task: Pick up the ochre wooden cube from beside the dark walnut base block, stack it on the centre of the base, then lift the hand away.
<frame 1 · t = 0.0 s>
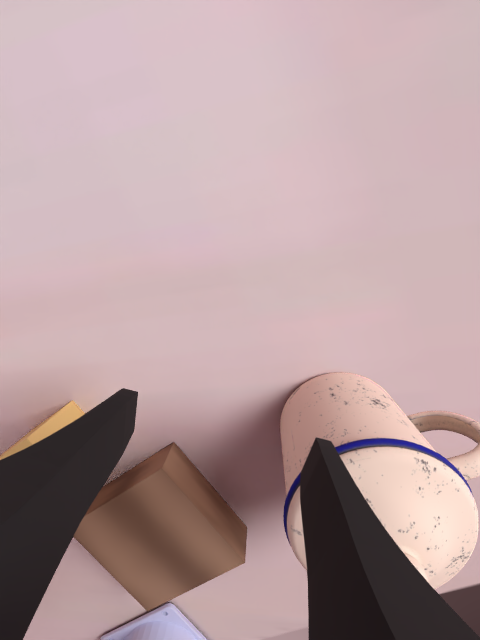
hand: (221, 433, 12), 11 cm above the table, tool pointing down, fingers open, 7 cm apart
ochre block: (72, 437, 25), on the table
walnut base: (166, 512, 26), on the table
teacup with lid: (354, 415, 23), on the table
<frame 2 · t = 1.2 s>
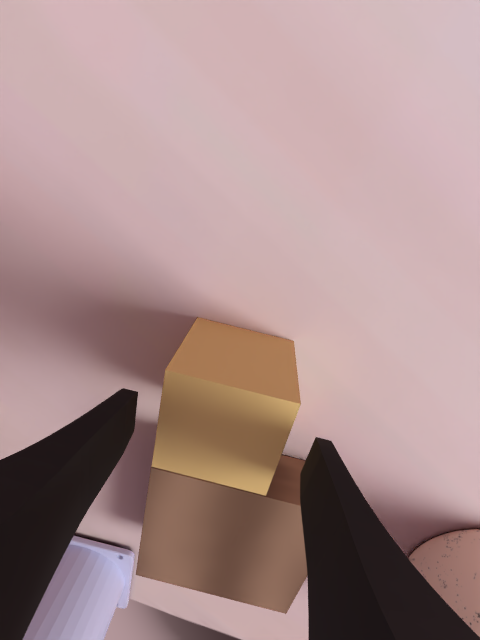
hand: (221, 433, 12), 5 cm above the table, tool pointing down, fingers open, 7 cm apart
ochre block: (235, 369, 17), on the table
walnut base: (232, 500, 20), on the table
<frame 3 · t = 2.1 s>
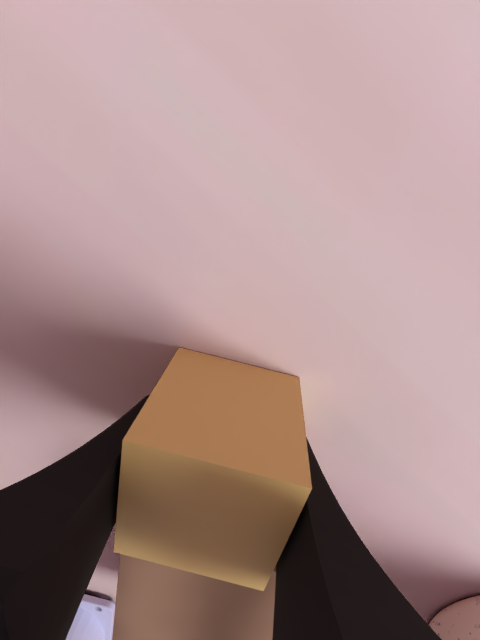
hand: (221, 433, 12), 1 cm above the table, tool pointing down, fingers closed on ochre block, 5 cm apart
ochre block: (226, 409, 13), on the table, touching gripper
walnut base: (226, 552, 17), on the table
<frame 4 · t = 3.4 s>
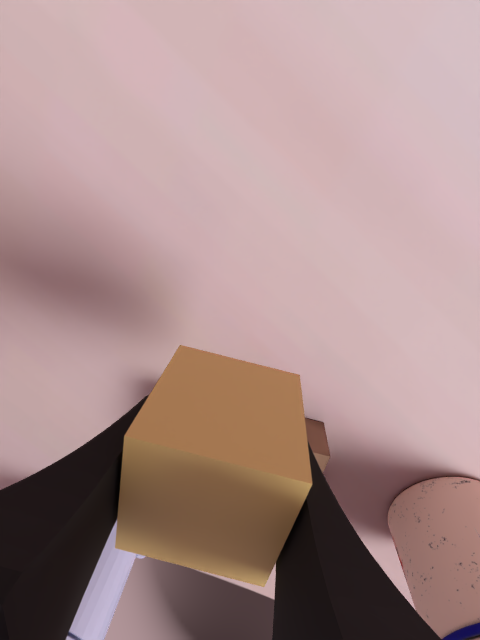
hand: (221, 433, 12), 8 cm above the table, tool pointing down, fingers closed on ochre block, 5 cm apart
ochre block: (227, 407, 13), point 7 cm above the table, touching gripper
walnut base: (239, 454, 24), on the table
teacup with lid: (458, 517, 24), on the table
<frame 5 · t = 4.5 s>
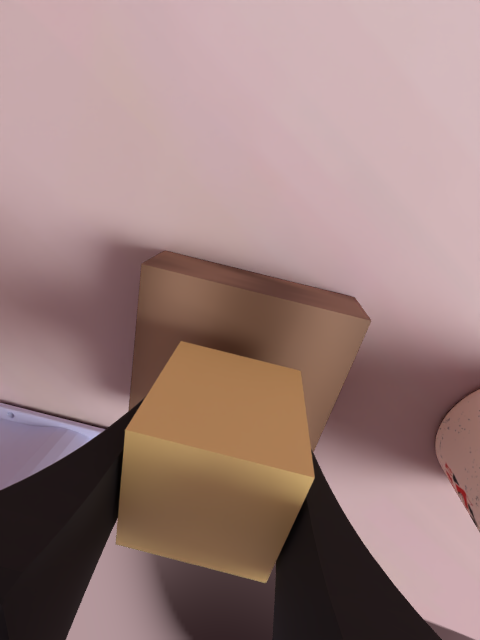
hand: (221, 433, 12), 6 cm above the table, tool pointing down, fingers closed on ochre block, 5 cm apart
ochre block: (228, 403, 13), point 5 cm above the table, touching gripper
walnut base: (238, 355, 18), on the table
when the fingers open (5 cm above the table, at t = 5.1 s): ochre block stays where it is, resting on walnut base.
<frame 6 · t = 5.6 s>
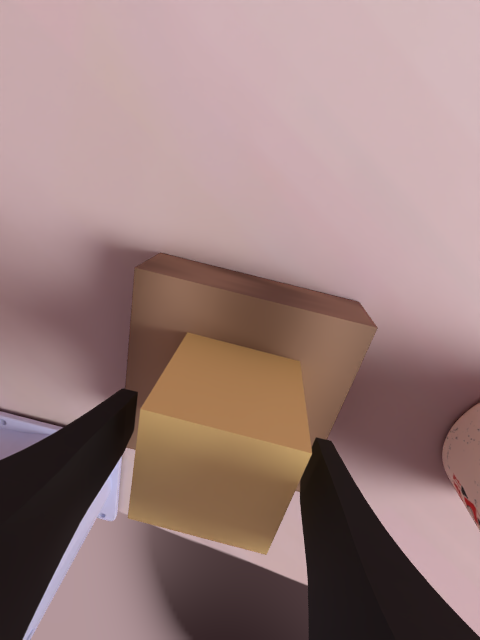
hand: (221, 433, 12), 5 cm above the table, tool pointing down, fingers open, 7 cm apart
ochre block: (231, 392, 14), point 3 cm above the table, touching walnut base
walnut base: (237, 362, 17), on the table
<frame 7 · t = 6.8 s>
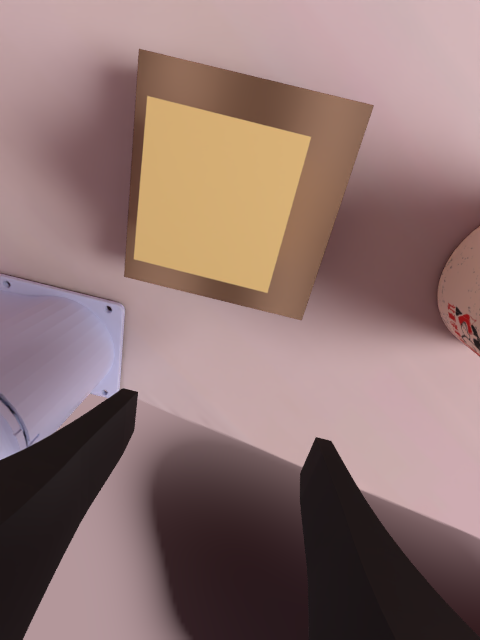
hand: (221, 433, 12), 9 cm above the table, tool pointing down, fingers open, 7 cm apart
ochre block: (232, 198, 15), point 3 cm above the table, touching walnut base
walnut base: (238, 200, 17), on the table
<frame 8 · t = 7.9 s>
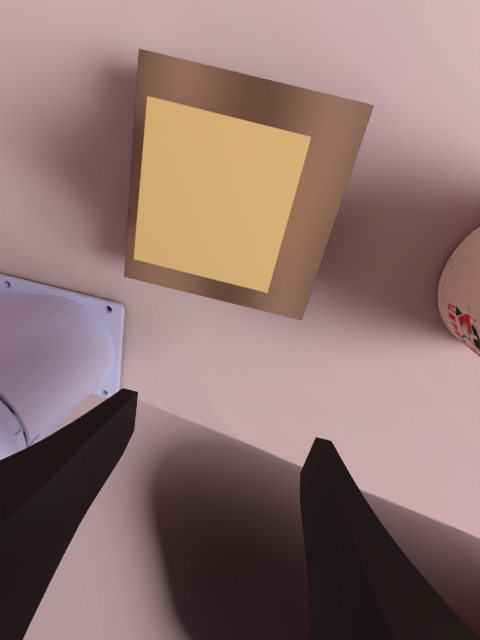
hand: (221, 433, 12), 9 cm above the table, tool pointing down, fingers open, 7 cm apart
ochre block: (232, 198, 15), point 3 cm above the table, touching walnut base
walnut base: (238, 200, 17), on the table
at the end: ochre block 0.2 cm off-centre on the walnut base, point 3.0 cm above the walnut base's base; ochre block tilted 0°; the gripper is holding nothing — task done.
